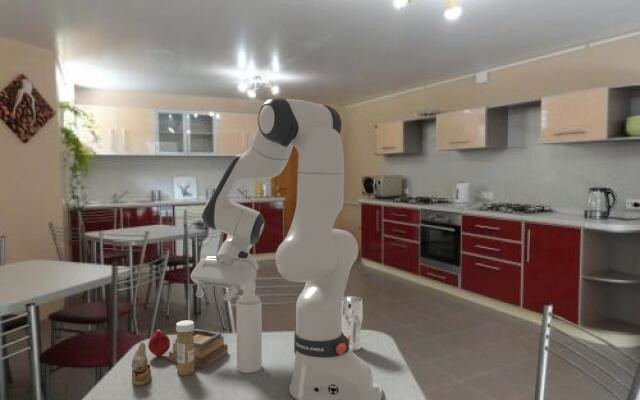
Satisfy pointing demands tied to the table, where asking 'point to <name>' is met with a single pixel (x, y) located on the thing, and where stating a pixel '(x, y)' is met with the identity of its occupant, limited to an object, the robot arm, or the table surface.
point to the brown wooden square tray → (204, 348)
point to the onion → (159, 343)
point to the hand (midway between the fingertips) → (212, 298)
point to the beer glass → (352, 320)
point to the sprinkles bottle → (185, 347)
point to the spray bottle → (249, 329)
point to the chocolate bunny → (140, 367)
